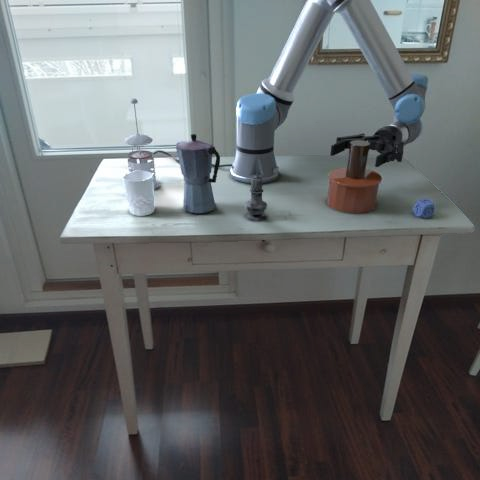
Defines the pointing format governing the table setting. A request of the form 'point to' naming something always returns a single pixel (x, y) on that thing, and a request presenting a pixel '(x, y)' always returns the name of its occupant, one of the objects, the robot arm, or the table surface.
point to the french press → (140, 153)
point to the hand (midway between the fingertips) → (353, 156)
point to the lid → (356, 168)
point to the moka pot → (197, 174)
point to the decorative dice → (424, 208)
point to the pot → (351, 198)
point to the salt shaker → (256, 200)
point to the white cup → (139, 192)
